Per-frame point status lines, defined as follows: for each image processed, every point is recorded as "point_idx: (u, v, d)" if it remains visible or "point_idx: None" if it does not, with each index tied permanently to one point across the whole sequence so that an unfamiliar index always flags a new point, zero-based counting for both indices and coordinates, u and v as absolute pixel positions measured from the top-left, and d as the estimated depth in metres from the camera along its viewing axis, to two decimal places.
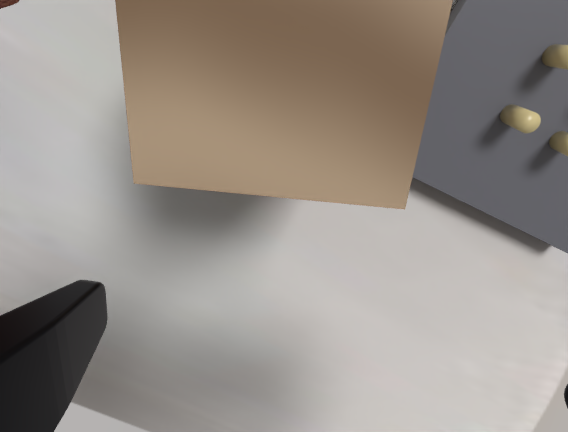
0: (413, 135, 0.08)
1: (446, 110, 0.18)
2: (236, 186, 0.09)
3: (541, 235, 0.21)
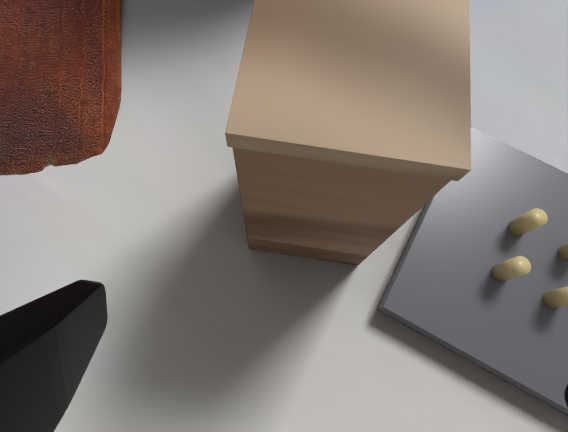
0: (464, 111, 0.10)
1: (444, 265, 0.20)
2: (319, 141, 0.10)
3: None
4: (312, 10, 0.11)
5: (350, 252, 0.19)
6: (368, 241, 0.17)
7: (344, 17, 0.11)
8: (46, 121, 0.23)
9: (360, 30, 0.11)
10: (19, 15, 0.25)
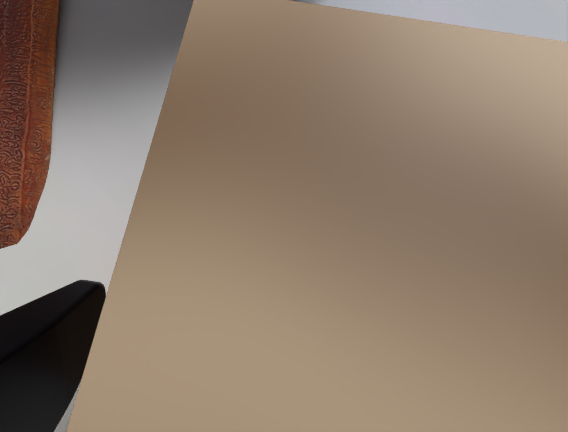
0: None
1: None
2: None
3: None
4: (294, 113, 0.05)
5: None
6: None
7: (365, 129, 0.05)
8: None
9: (401, 161, 0.05)
10: None
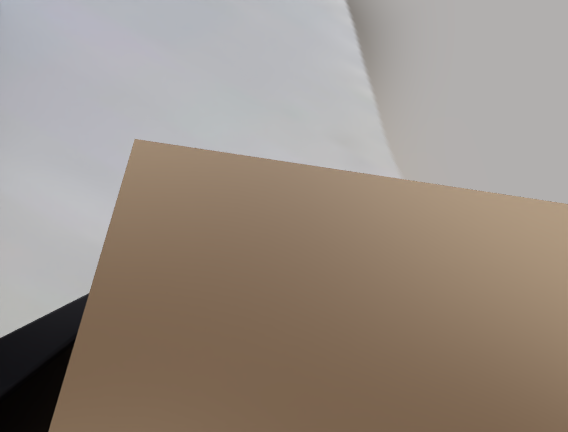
0: None
1: None
2: None
3: None
4: (258, 338, 0.04)
5: None
6: None
7: (353, 364, 0.04)
8: None
9: (402, 414, 0.04)
10: None
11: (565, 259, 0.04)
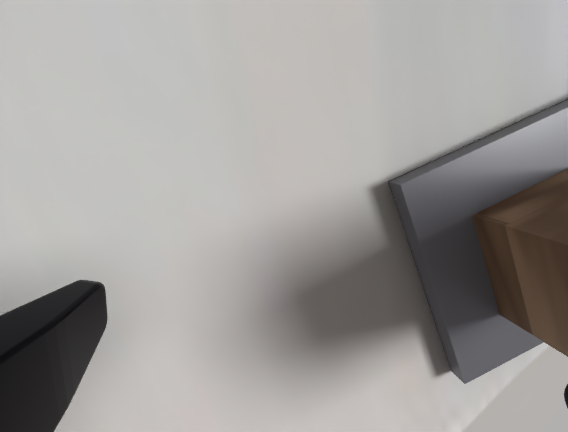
0: None
1: (474, 191, 0.19)
2: None
3: (459, 354, 0.21)
4: None
5: (531, 321, 0.19)
6: None
7: None
8: None
9: None
10: None
11: None
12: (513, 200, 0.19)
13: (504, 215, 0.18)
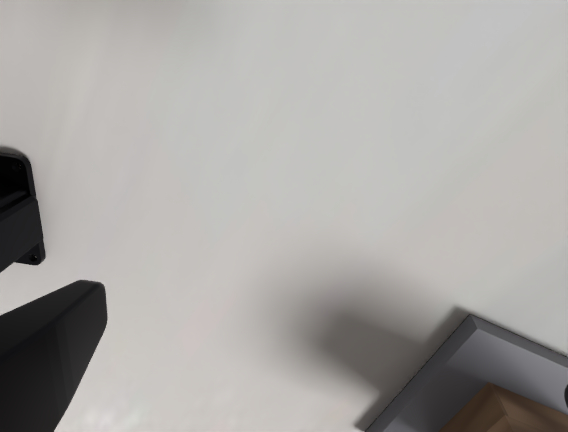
0: None
1: (507, 373, 0.23)
2: None
3: None
4: None
5: None
6: None
7: None
8: None
9: None
10: None
11: None
12: (520, 401, 0.23)
13: (508, 406, 0.22)
